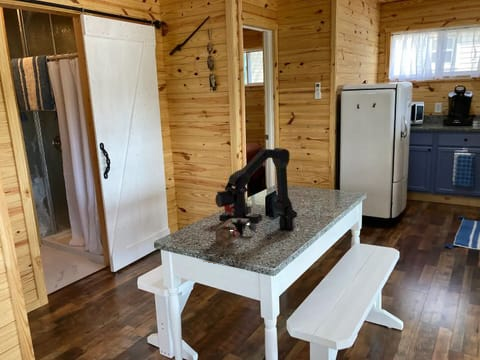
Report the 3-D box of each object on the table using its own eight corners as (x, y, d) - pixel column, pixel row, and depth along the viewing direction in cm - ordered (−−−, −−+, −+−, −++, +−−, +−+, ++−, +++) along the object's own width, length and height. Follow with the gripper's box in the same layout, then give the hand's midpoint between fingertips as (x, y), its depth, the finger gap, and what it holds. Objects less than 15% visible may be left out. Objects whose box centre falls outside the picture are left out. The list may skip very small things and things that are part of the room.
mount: (245, 229, 193) (245, 217, 192) (228, 245, 175) (227, 231, 174) (234, 228, 195) (234, 216, 194) (216, 243, 178) (215, 230, 176)
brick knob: (240, 236, 180) (240, 227, 179) (236, 239, 176) (236, 230, 175) (224, 234, 183) (224, 226, 182) (220, 237, 180) (220, 229, 179)
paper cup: (233, 223, 203) (231, 197, 200) (221, 221, 207) (219, 195, 204) (241, 218, 209) (240, 193, 206) (229, 217, 213) (227, 192, 210)
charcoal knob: (256, 229, 187) (256, 221, 186) (253, 232, 184) (253, 224, 183) (241, 227, 190) (240, 219, 189) (237, 230, 187) (237, 222, 186)
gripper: (265, 198, 177) (267, 231, 180) (227, 196, 185) (230, 228, 188) (256, 205, 167) (258, 240, 171) (217, 203, 175) (220, 236, 178)
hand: (241, 235), depth 177 cm, fingers closed
